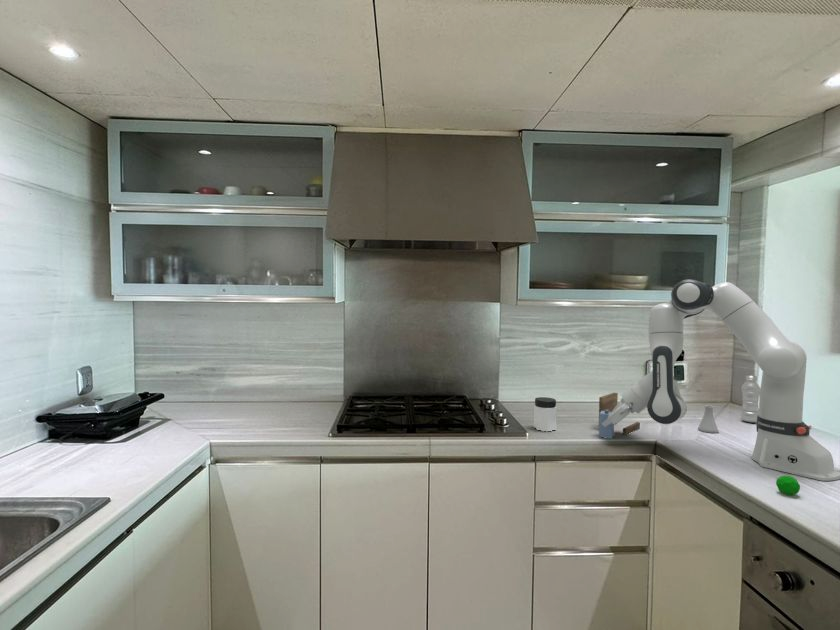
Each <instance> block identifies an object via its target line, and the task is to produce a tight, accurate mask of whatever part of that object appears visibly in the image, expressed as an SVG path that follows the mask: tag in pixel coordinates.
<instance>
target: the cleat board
mask: <svg viewBox="0 0 840 630" xmlns="http://www.w3.org/2000/svg"><path fill="white" fill-rule="evenodd" d="M618 395H619V393H618V392H612V393H608V394H606V395H602V396H600V397H598V398H599V400H598V401H599V404H598V414H599V413H600V412H601V411H605V410H606V409H608V410H609V412H612V410H613V409H614V408H615V406H616V405H617V404H618V400H619V398H618ZM640 428H641V423H640V422H638V421H636V422H634V423H631V424H630V425H628V426H625V427H623V428H622V436H628V435H630V434H632V433H634V432H636V431H638V430H639V429H640ZM635 430H636V431H635ZM633 431H634V432H633ZM631 432H632V433H631ZM629 433H630V434H629ZM627 434H628V435H627Z"/></svg>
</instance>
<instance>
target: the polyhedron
mask: <svg viewBox="0 0 840 630" xmlns="http://www.w3.org/2000/svg"><path fill="white" fill-rule="evenodd" d="M775 486H776V487H777V489H778V490H779V491H780V493H782V494H783V495H786V496H795V495H797V494H798V493H799V491H801V485H800V483H799V482H798V480H797V479H796V478H795V477H793V476H791V475H781V476H779V477H778V478H777V479H776V482H775Z"/></svg>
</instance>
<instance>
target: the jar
mask: <svg viewBox="0 0 840 630" xmlns="http://www.w3.org/2000/svg"><path fill="white" fill-rule="evenodd" d="M557 410H558V407H557V400H556V399H555V398H553V397H548V396H547V397H545V396H544V397H543V396H540V397H535V398H534V405H533V428H534V427H535V428H536V429H537V430H544V431H551V432H553V431H552V430H556V431H557V415H558V414H557V412H558V411H557ZM535 428H534V429H535ZM536 429H535V430H536ZM537 430H536V431H537ZM544 431H543V432H544Z"/></svg>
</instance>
